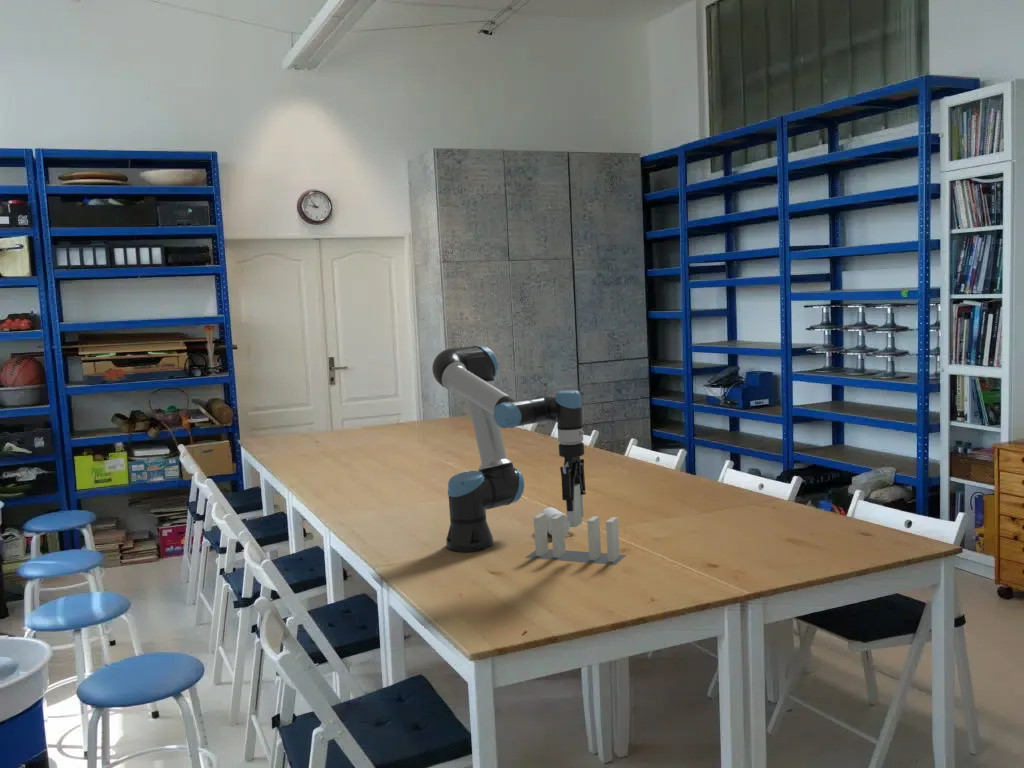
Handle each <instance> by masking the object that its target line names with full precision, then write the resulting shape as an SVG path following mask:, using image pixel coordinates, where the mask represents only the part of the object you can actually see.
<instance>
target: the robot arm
mask: <svg viewBox="0 0 1024 768" xmlns="http://www.w3.org/2000/svg"><path fill="white" fill-rule="evenodd" d="M496 356H497V355H495V353H494V352H493V350H492V349H490V348H489V347H487V346H485V345H472V346H464V347H462V346H461V347H456V348H455V347H453V348H446V349H443V351H441V352H439V353H438V354H437V355H436V357H435V358H434V360H433V362H432V366H431V367H432V368H431V369H432V375H433V377H434V380H435V382H437V383H438V384H439V385H440V386H441V387H443V388H444V389H447V390H448V391H455V392H457V393H458V394H459V395H461V396H463V397H465V398H466V399H467V403H468V407H469V411H470V416H471V421H472V426H473V430H474V436H475V440H476V444H477V449H478V453H479V457H480V461H481V463H480V466H479V467H478V470H470V471H464V472H460V473H456V474H454V475H453V476H451V477H450V478H449V480H448V482H447V483H448V484H447V496H448V508H449V509H448V510H449V521H450V524H449V528H448V532H447V536H446V540H445V541H446V542H445V543H446V549H448V550H449V551H452V552H459V553H461V552H463V553H469V552H470V553H471V552H477V551H483V550H486V549H488V548H491V547H492V546H493V545H494V537H493V534H492V531H491V528H490V527H489V524H488V522H487V510H490V509H495V508H499V507H504V506H509V505H511V504H515V503H516V502H518V501H519V500H520V499H521V498H522V495H523V493H524V490H525V479H524V476H523V473H522V472H521V470H520V469H519V468H517V467H514V463H513V461H512V460H510V459H509V458H508V457H507V452H506V449H505V444H504V439H503V433H502V430H501V429H513V428H516V427H521V426H527V425H532V424H537V423H538V424H539V423H544V422H555V423H556V422H557V442H558V443H559V444H558V454H559V455H558V456H560V457H562V458H564V460H563V461H564V462H563V466H560V468H559V470H560V476H561V493H562V495H561V498H562V501H565V507H566V516H567V521H568V522H576V521H577V520H576V503H575V500H574V484H580V493H581V511H582V518H584V517H585V515H584V514H585V511H584V497H583V496H584V495H586V494H587V491H586V479H585V477H586V476H585V459H584V458H581V457H582V456H584V455H585V443H584V442H583V441H584V435H585V431H584V428H583V427H584V426H583V425H584V424H583V422H584V421H583V403H582V395H581V393H580V391H579V390H576V389H575V390H574V389H572V390H571V389H570V390H569V389H568V390H567V389H566V390H560V391H559V390H558V391H557V392H556V393H555V396H547V395H535V396H533V397H531V398H525V399H520V400H518V399H516V398H513V396H511V395H508V394H507V393H505V392H503V390H501V389H499V388H497V387H496V386H494V384H495V377H496V376H497V374H498V373H499V372H498V371H499V362H498V359H497V357H496Z"/></svg>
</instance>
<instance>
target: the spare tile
mask: <svg viewBox="0 0 1024 768" xmlns="http://www.w3.org/2000/svg"><path fill="white" fill-rule="evenodd" d="M574 500H575V503H576V520H577V521H576V522H570V528H577V527H578V526H579V525H581V524H583V517H582V511H581V493H580V484H574Z"/></svg>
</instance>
